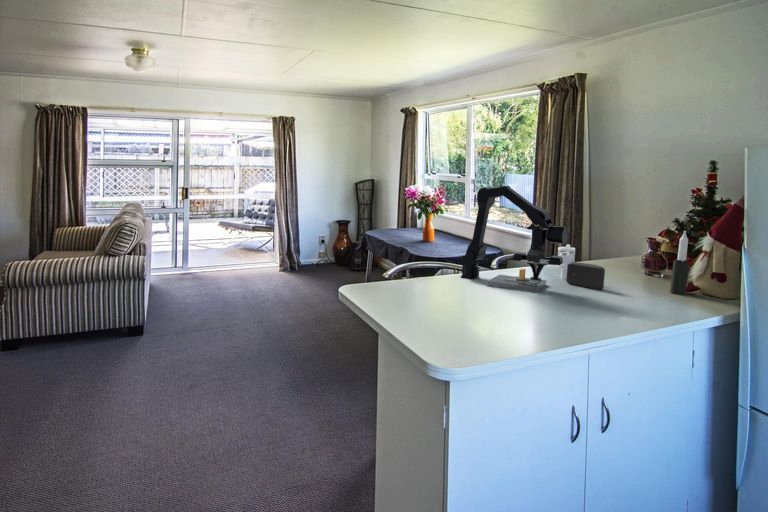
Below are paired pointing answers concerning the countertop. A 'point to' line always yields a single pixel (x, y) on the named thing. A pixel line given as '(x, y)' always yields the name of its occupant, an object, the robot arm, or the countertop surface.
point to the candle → (680, 268)
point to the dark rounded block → (585, 275)
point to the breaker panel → (517, 283)
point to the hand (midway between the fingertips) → (536, 279)
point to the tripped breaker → (522, 275)
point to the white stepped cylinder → (566, 259)
